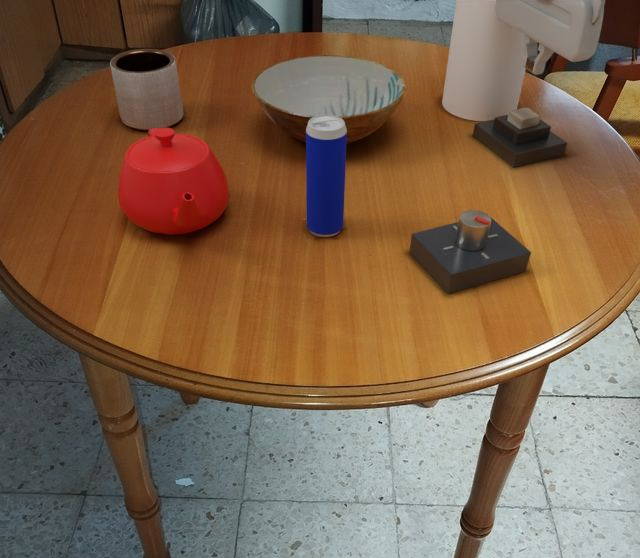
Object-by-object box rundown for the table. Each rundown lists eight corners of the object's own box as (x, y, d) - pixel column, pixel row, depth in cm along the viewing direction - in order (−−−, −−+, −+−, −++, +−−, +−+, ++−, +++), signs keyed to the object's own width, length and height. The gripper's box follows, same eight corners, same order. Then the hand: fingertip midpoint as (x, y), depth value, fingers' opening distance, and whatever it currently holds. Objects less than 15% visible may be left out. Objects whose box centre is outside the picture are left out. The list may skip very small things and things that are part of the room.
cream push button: (524, 117, 112) (527, 107, 110) (538, 126, 110) (540, 116, 108) (506, 121, 111) (509, 110, 109) (519, 130, 109) (522, 119, 107)
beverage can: (338, 217, 98) (341, 112, 86) (347, 236, 94) (351, 129, 83) (303, 221, 97) (302, 115, 86) (310, 240, 93) (310, 133, 82)
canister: (527, 118, 120) (558, -11, 105) (454, 123, 118) (474, -8, 103) (502, 87, 128) (527, -36, 114) (433, 91, 127) (449, -33, 112)
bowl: (358, 92, 127) (361, 45, 121) (429, 149, 112) (436, 99, 106) (233, 116, 119) (228, 68, 113) (290, 181, 104) (289, 129, 98)
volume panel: (483, 233, 95) (487, 212, 93) (525, 271, 89) (531, 251, 87) (409, 252, 92) (411, 232, 89) (447, 294, 86) (451, 273, 83)
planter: (140, 138, 113) (128, 79, 106) (110, 116, 119) (97, 58, 112) (195, 121, 118) (188, 62, 111) (164, 100, 124) (155, 43, 116)
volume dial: (449, 242, 88) (453, 216, 85) (467, 230, 90) (472, 204, 87) (474, 254, 86) (479, 228, 83) (492, 242, 88) (498, 216, 85)
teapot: (110, 185, 103) (91, 104, 94) (210, 168, 107) (200, 88, 98) (141, 278, 87) (121, 191, 78) (256, 254, 91) (250, 168, 82)
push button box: (520, 125, 118) (526, 102, 115) (564, 155, 111) (571, 131, 108) (472, 136, 115) (476, 112, 112) (513, 167, 108) (519, 143, 105)
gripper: (626, -15, 89) (593, 94, 99) (533, -56, 101) (512, 45, 111) (588, -9, 87) (558, 101, 97) (498, -52, 99) (479, 50, 109)
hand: (532, 71), depth 104 cm, fingers closed
